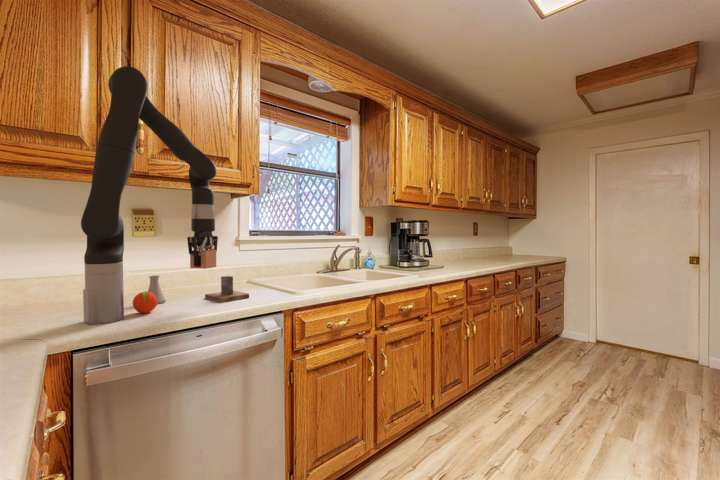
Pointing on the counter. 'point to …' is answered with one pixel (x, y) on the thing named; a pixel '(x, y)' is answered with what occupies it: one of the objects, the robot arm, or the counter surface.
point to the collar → (205, 259)
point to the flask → (156, 289)
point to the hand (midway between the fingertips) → (203, 265)
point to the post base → (226, 297)
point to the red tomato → (144, 302)
